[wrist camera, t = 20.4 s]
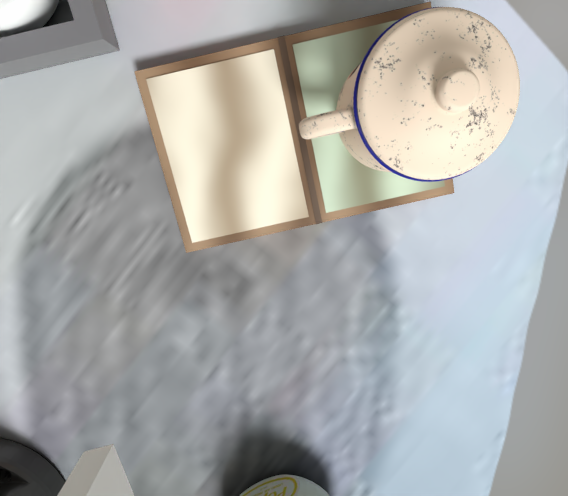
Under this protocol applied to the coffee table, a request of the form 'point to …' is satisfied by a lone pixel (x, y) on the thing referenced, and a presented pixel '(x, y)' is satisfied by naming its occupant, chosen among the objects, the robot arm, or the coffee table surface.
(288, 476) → the air freshener
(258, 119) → the wooden picture frame
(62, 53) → the button bezel
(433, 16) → the teacup with lid
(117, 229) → the coffee table surface
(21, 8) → the dome button
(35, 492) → the robot arm
